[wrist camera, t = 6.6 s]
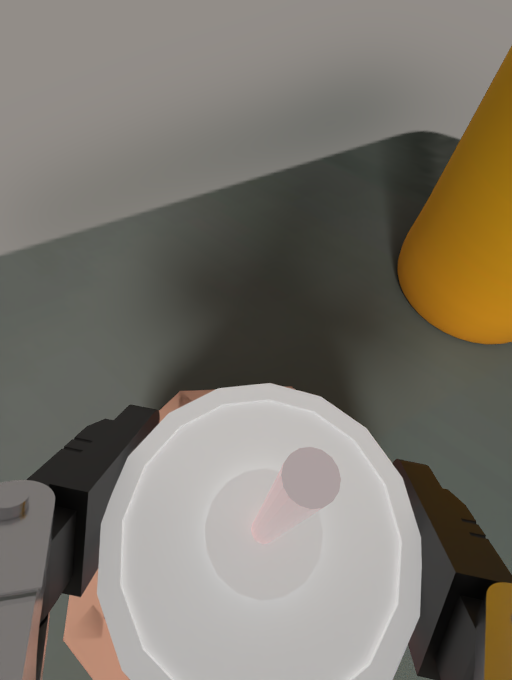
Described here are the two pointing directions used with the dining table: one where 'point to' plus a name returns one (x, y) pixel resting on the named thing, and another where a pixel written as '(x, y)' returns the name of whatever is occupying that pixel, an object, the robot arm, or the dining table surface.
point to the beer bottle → (468, 230)
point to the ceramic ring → (86, 613)
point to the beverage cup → (259, 545)
